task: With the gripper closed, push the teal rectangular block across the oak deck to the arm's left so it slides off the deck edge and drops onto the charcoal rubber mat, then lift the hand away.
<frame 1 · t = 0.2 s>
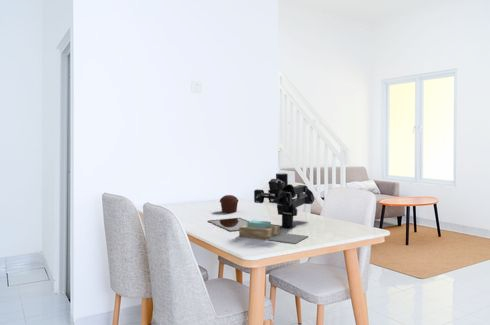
hand: (264, 200, 191), 17 cm above the table, tool horizontal, fingers open, 9 cm apart
deck: (259, 234, 196), on the table
muffin: (229, 212, 258), on the table
mat: (288, 238, 189), on the table
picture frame: (235, 225, 220), on the table
teal rectangular block: (258, 226, 196), point 4 cm above the table, touching deck
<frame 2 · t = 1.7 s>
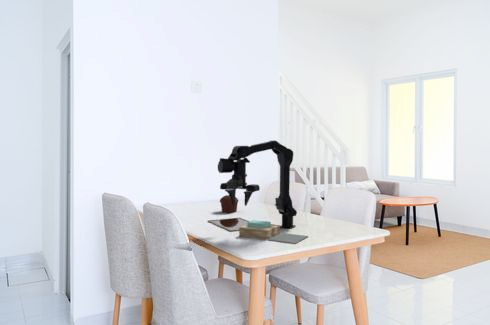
hand: (239, 205, 201), 13 cm above the table, tool pointing down, fingers open, 6 cm apart
nothing on the table moved.
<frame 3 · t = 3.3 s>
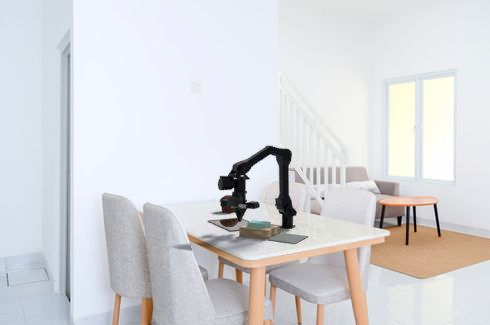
hand: (239, 221, 201), 5 cm above the table, tool pointing down, fingers closed
nothing on the table moved.
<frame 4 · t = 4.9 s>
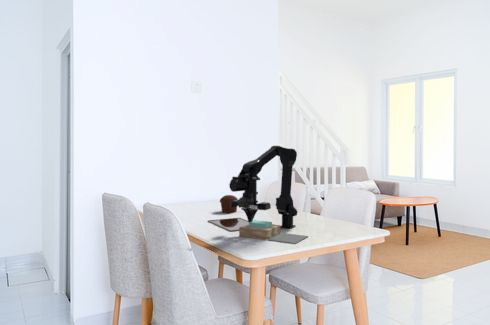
hand: (250, 223, 198), 5 cm above the table, tool pointing down, fingers closed
teal rectangular block: (260, 226, 196), point 4 cm above the table, touching deck, gripper
everything else where it was.
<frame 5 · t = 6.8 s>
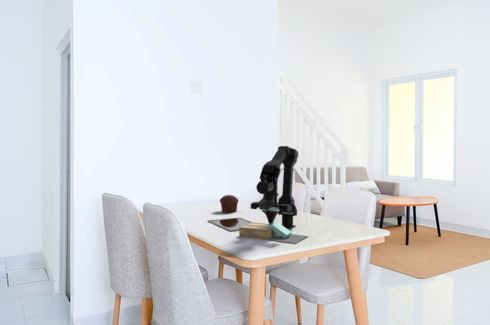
hand: (270, 225, 193), 5 cm above the table, tool pointing down, fingers closed
teal rectangular block: (279, 231, 192), point 3 cm above the table, tilted 28°, touching gripper
everything else where it was.
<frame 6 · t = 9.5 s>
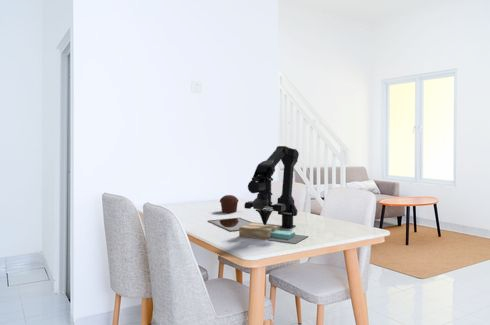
hand: (264, 224, 195), 5 cm above the table, tool pointing down, fingers closed
teal rectangular block: (282, 236, 191), resting on mat
everything else where it was.
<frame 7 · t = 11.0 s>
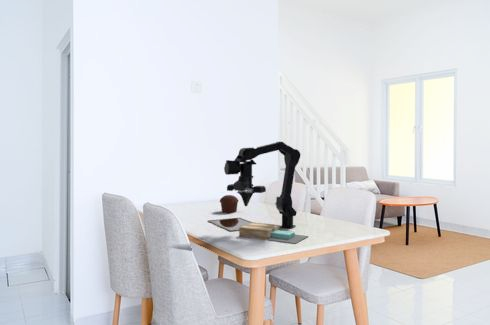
hand: (246, 206, 204), 12 cm above the table, tool pointing down, fingers closed
nothing on the table moved.
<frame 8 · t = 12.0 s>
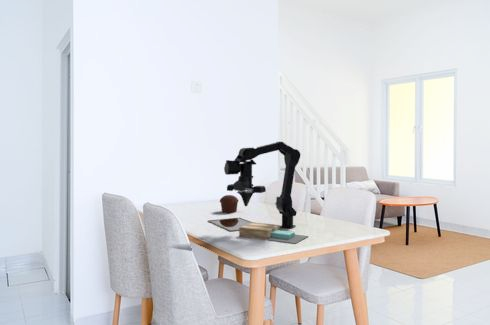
hand: (246, 206, 204), 12 cm above the table, tool pointing down, fingers closed
nothing on the table moved.
at the end: teal rectangular block resting on mat; teal rectangular block inside the target area on the mat (2.7 cm from its centre), point 0.4 cm above the mat's base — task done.
